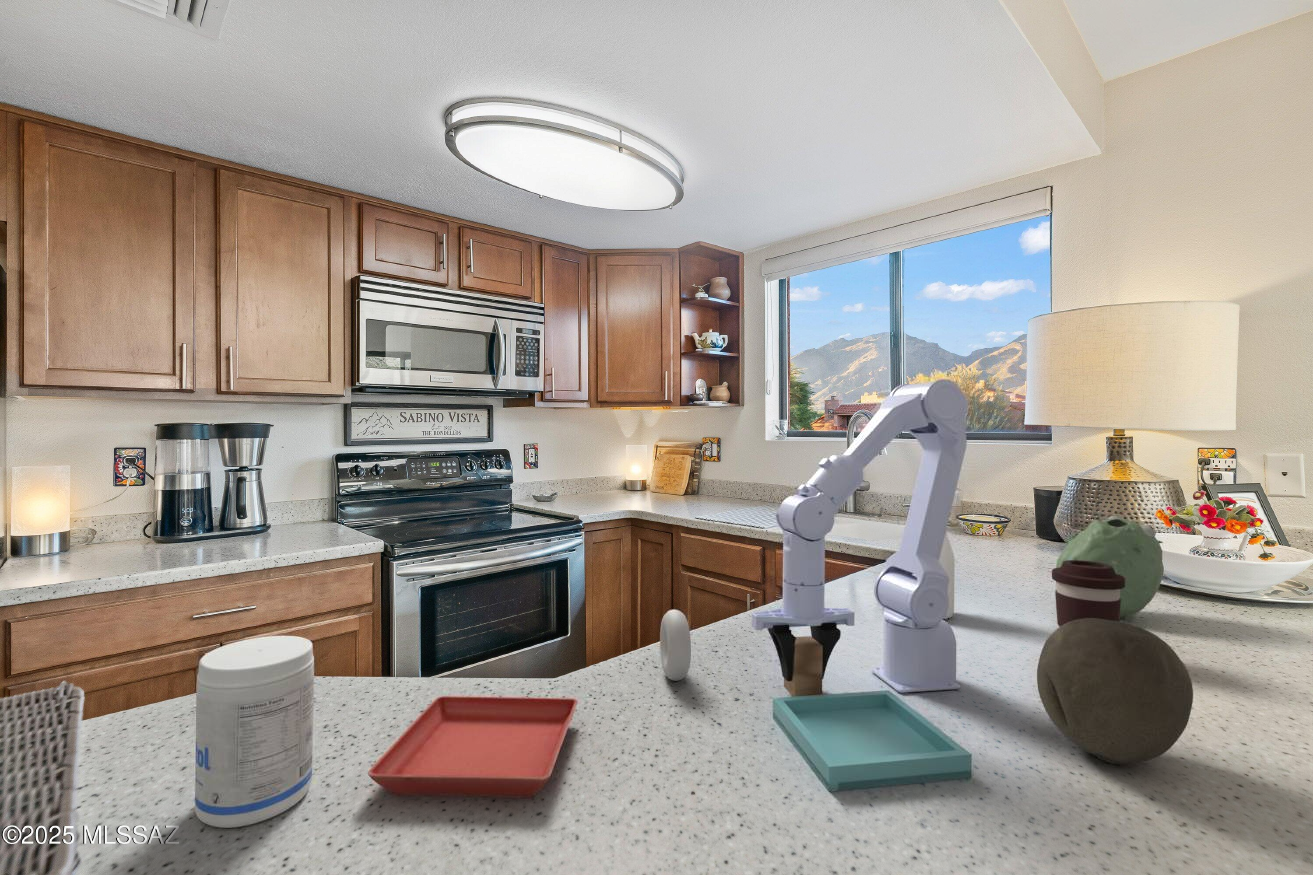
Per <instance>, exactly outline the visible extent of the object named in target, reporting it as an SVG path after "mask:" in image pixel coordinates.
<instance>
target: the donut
mask: <svg viewBox="0 0 1313 875" xmlns="http://www.w3.org/2000/svg"><path fill="white" fill-rule="evenodd" d="M688 622H689V621H688V619H687V617H686V615H685V613H683V612H682V611H680V610H678V609H674V608H673V609H670V610H668V611H666V613H665V614H664V615H663V617H662V618H661V623H660V630H659V631H660V632H659V650H660V661H661V666H662V670H663V673H664V674H665V676H666V677H667V678H668V679H669V680H671V681H673V682H674V681H675V682H677V681H678V682H679V681H681V680H682V679H685V677H686V676H687V675H688V674H689V670H690V667H691V662H692V660H691V659H692V641H691V631H690V627H689V623H688Z"/></svg>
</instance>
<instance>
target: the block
mask: <svg viewBox="0 0 1313 875" xmlns="http://www.w3.org/2000/svg"><path fill="white" fill-rule="evenodd" d="M795 637H796V641H795V645H794V652H793V678H792V681H787V680H786V679H785V678H784V677H783V687H784V688H785V690H786V691H787V692H789V694H790V695H791V697H796V696H811V695H823V679H822V660H823V646H822V645H821V644H820V643H818V642H817V641H816V640H815V639H813V638H812V636H811V635H806V636H795Z"/></svg>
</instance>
